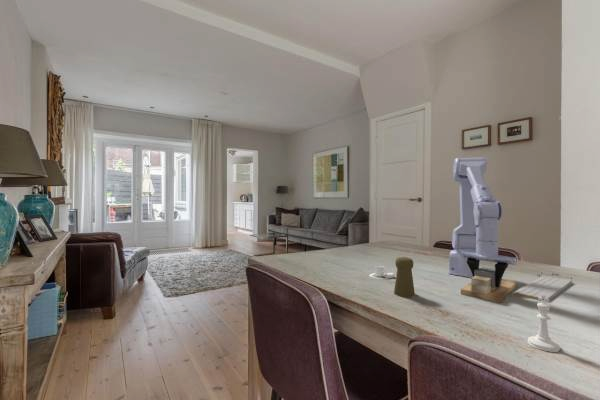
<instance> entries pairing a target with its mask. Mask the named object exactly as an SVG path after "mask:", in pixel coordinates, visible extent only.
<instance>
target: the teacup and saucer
mask: <svg viewBox="0 0 600 400" xmlns="http://www.w3.org/2000/svg"><path fill="white" fill-rule="evenodd" d="M372 270H373V272H372V273H370V274H369V275H368V276H369V277H370V278H373V279H377V280H388V279H391V278H394V277H396V276H395V273H394V272H387V273H385V265H381V264H380V265H375V266H373V267H372ZM375 275H376V276H375Z"/></svg>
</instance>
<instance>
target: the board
mask: <svg viewBox="0 0 600 400" xmlns="http://www.w3.org/2000/svg"><path fill="white" fill-rule="evenodd" d="M517 287H518V281H515V280H509V279H503V278H502V279H501V286H500V287H498V288H497V289H495V290H493V291H492V290H491V292H490V293H489V294H487V295H486V294H481V293H476V292H471V282H470V283H469V284H467V285H465V286H463V287H462V288H460V294H461V295H463V296H469V297H472V298H473V297H474V298H478V299H482V300H486V301H491V302H495V303H501V302H502V301H503V300H504V299H506V297H507V296H509V294H511V293H512V292H513V291H515V289H516V288H517Z"/></svg>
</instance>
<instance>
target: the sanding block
mask: <svg viewBox="0 0 600 400" xmlns="http://www.w3.org/2000/svg"><path fill="white" fill-rule="evenodd" d="M474 276H481V277H487V278H491V290H492V291H493V290H495V289H497V288H498V287H496V286H495V281H496V272H495V268H493V267H492V268H491V267H484V266H482V267H479V269H477V270H474ZM500 286H501V282H500Z"/></svg>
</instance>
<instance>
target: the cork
mask: <svg viewBox="0 0 600 400" xmlns="http://www.w3.org/2000/svg"><path fill="white" fill-rule="evenodd" d="M394 263H395V267H396V276H395V282H394V291H393V294H394V295H395V296H398V297H401V298H412V297H415V296H416V294H415V293H416V292H415V286H414V285H415V283H414V278H413V272H412V270H413V267H414V261H413V259H412V258H410V257H405V256H402V257H400V256H399V257H397V258H396V260H395V262H394Z"/></svg>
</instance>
